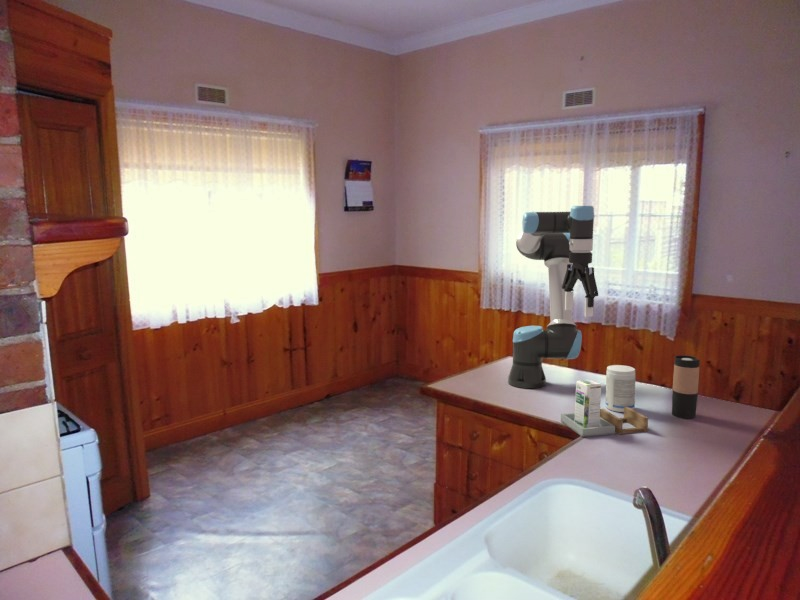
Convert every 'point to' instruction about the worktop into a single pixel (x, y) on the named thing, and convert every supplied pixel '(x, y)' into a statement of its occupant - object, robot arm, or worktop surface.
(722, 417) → the worktop surface
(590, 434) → the tray
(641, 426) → the cradle
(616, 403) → the supplement tub
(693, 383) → the travel mug
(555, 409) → the worktop surface
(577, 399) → the syrup box
